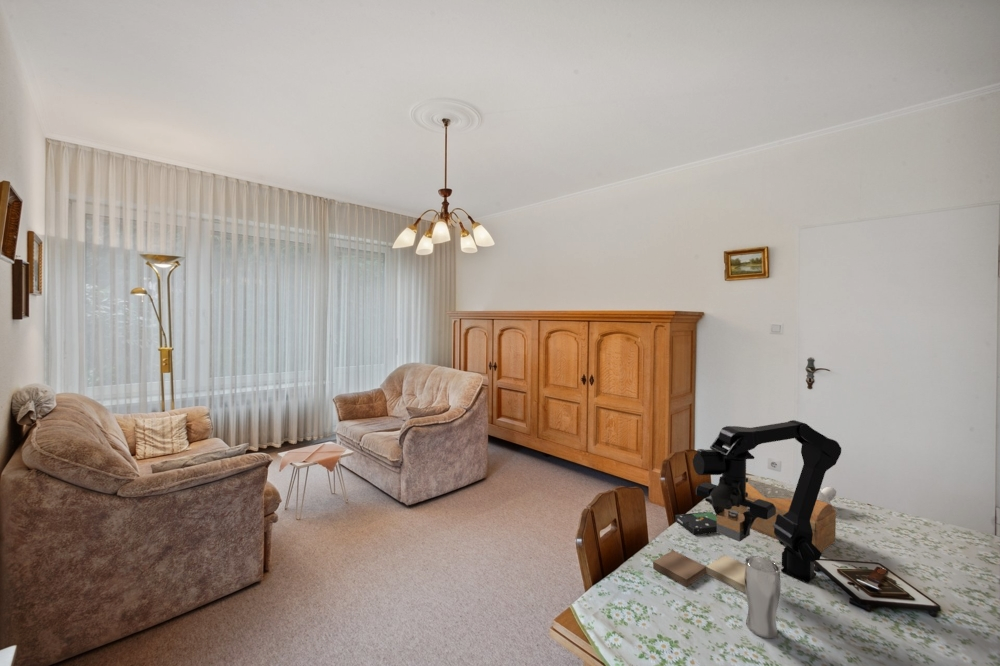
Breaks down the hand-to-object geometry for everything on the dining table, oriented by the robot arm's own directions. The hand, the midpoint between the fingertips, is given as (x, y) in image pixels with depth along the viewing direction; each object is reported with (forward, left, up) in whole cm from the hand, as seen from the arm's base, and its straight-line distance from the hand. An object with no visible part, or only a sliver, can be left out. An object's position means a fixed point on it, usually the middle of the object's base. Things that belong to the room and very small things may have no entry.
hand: (733, 529), depth 111 cm
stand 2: (0, 0, -13) cm, 13 cm away
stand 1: (+10, +10, -13) cm, 19 cm away
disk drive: (+19, -21, -14) cm, 32 cm away
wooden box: (+5, -40, -13) cm, 42 cm away
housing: (0, 0, -1) cm, 1 cm away
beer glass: (-13, +15, -13) cm, 24 cm away
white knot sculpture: (+2, -69, -13) cm, 70 cm away
